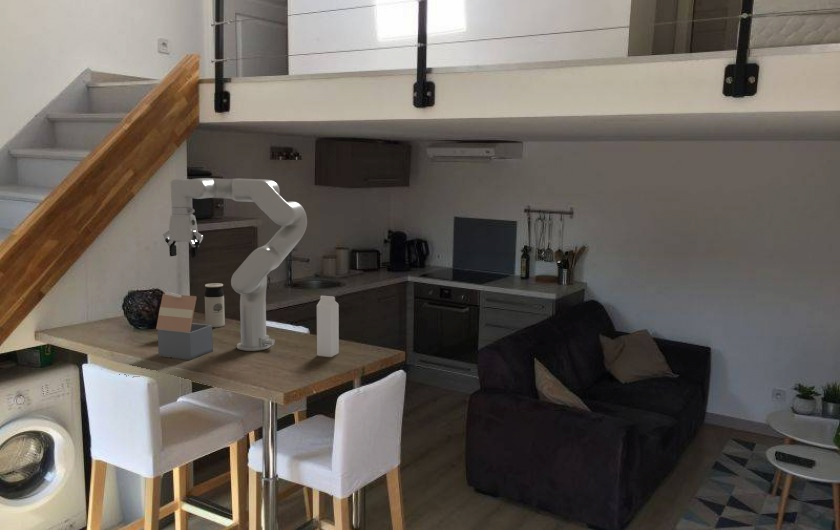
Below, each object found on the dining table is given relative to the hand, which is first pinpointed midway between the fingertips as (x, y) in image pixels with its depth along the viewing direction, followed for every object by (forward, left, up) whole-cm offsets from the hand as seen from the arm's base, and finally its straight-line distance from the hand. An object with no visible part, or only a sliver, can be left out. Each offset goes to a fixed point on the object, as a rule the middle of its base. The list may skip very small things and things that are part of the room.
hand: (183, 256), depth 267 cm
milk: (-57, -7, -34) cm, 67 cm away
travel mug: (+9, -31, -34) cm, 47 cm away
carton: (-8, +11, -34) cm, 37 cm away
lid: (-8, +15, -18) cm, 25 cm away
